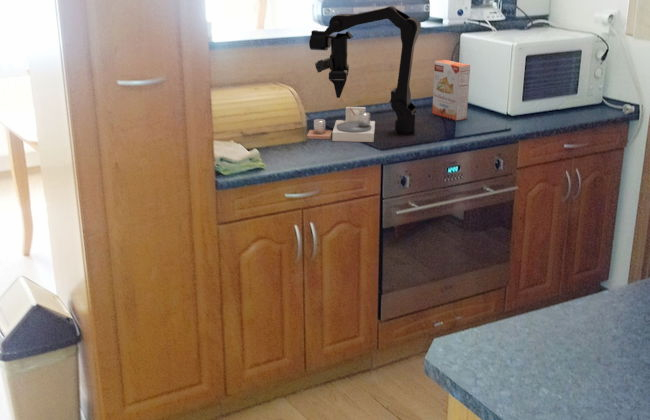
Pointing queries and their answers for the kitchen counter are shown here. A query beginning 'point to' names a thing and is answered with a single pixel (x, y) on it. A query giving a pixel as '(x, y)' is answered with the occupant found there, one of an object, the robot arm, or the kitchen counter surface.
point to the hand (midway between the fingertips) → (339, 95)
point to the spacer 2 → (364, 119)
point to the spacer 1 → (319, 126)
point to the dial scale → (353, 127)
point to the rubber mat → (317, 136)
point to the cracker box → (451, 89)
